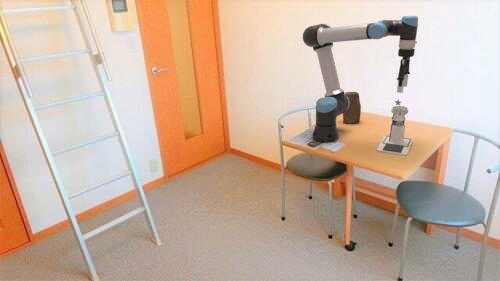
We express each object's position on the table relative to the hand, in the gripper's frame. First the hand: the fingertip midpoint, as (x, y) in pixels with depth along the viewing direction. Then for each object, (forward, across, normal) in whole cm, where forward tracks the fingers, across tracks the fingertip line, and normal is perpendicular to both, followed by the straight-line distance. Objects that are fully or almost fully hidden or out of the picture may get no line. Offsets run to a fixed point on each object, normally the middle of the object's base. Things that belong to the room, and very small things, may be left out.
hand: (401, 89), depth 189 cm
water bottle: (+30, 0, 0) cm, 30 cm away
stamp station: (+30, -5, 0) cm, 31 cm away
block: (+31, +25, +32) cm, 51 cm away
